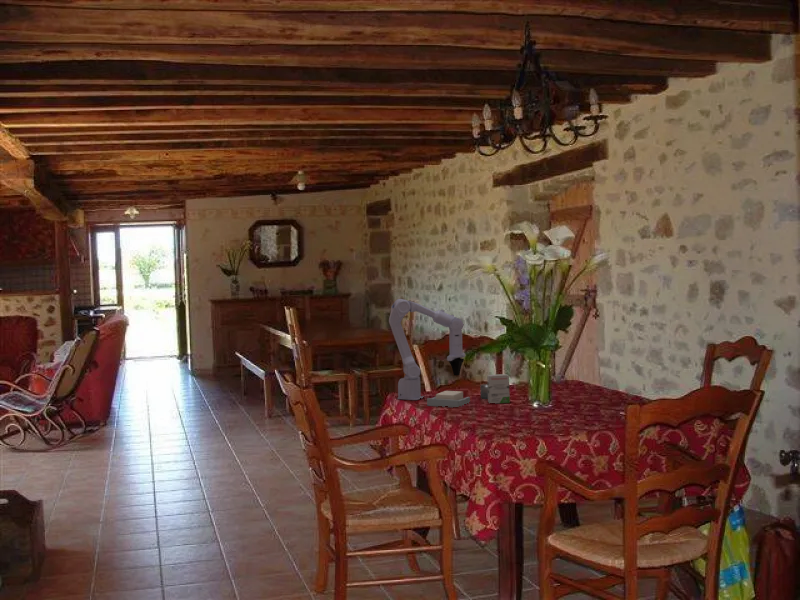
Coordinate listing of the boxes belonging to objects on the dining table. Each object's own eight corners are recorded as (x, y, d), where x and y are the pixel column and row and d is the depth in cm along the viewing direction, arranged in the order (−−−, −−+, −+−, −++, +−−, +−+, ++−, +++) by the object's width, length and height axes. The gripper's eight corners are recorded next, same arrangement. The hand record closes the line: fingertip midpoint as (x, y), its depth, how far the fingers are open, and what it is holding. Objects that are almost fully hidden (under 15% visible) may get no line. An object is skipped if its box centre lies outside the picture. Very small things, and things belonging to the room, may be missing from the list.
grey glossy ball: (478, 399, 380) (478, 385, 379) (483, 397, 385) (483, 383, 385) (491, 400, 377) (491, 386, 376) (496, 398, 382) (496, 384, 382)
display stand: (427, 405, 367) (427, 398, 367) (440, 400, 378) (440, 393, 378) (457, 407, 361) (457, 400, 361) (470, 402, 372) (469, 395, 372)
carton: (436, 406, 367) (435, 394, 367) (446, 402, 376) (445, 390, 376) (453, 407, 364) (453, 395, 363) (463, 403, 373) (462, 391, 372)
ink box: (507, 401, 374) (507, 373, 373) (510, 403, 369) (509, 375, 368) (487, 401, 373) (487, 374, 372) (489, 403, 368) (489, 375, 367)
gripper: (457, 346, 379) (458, 377, 380) (470, 343, 392) (471, 373, 393) (442, 346, 383) (443, 377, 383) (456, 342, 395) (457, 372, 396)
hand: (456, 375), depth 388 cm, fingers closed
